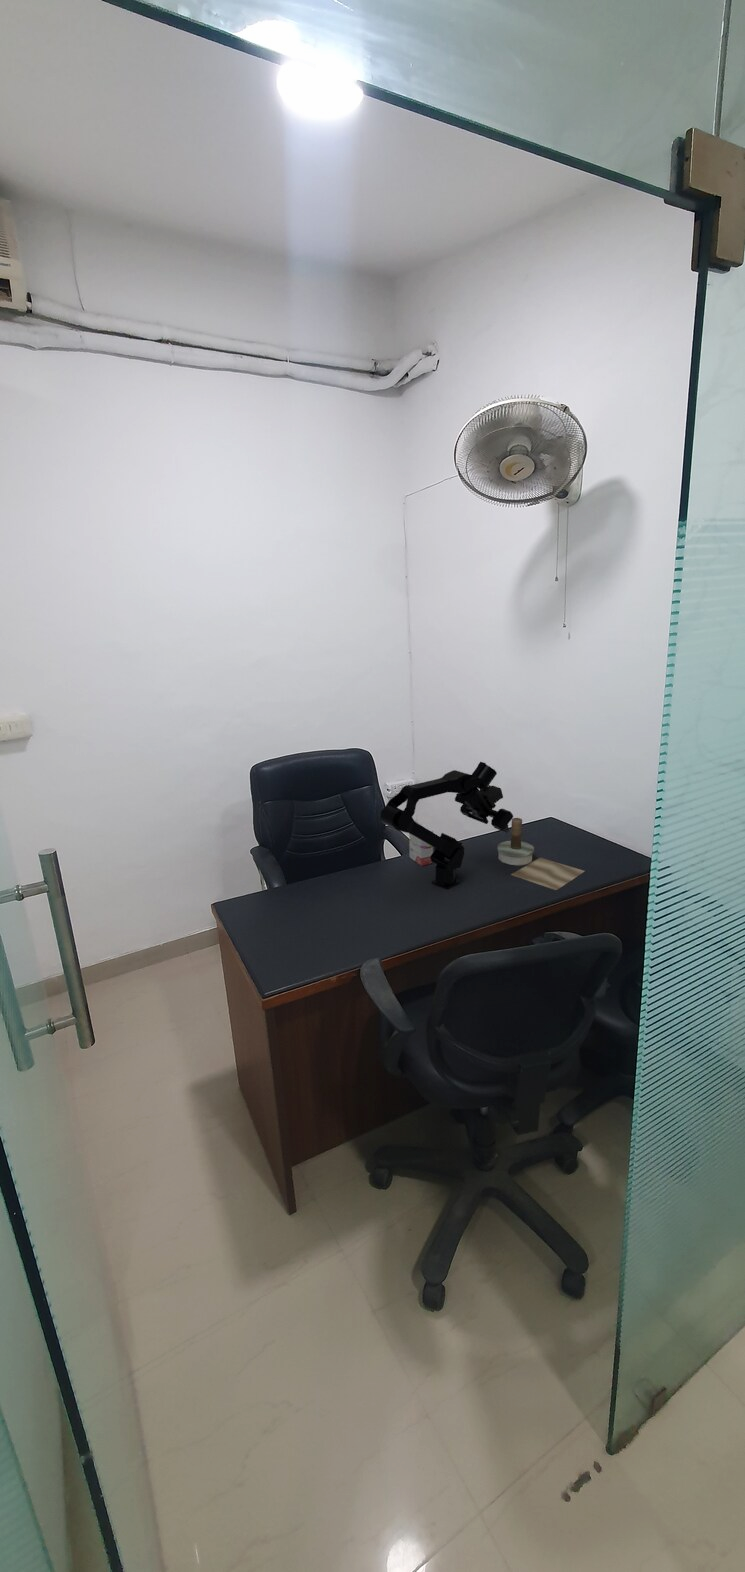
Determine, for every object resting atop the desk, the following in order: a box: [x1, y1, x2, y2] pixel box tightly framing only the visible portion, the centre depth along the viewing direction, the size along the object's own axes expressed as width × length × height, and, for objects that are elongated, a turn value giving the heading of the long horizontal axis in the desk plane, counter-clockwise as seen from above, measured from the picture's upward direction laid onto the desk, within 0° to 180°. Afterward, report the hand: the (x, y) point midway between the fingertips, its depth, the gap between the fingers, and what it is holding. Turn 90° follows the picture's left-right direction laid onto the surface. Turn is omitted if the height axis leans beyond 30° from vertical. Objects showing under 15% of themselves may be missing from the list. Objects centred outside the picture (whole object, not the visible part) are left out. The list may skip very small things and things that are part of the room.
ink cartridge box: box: [408, 819, 434, 867], centre depth 204 cm, size 9×5×15 cm, turn 25°
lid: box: [497, 817, 535, 858], centre depth 202 cm, size 12×12×11 cm
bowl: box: [497, 852, 533, 866], centre depth 204 cm, size 11×11×3 cm
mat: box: [510, 857, 586, 891], centre depth 193 cm, size 18×16×1 cm
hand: (497, 827), depth 197 cm, fingers open, 9 cm apart
